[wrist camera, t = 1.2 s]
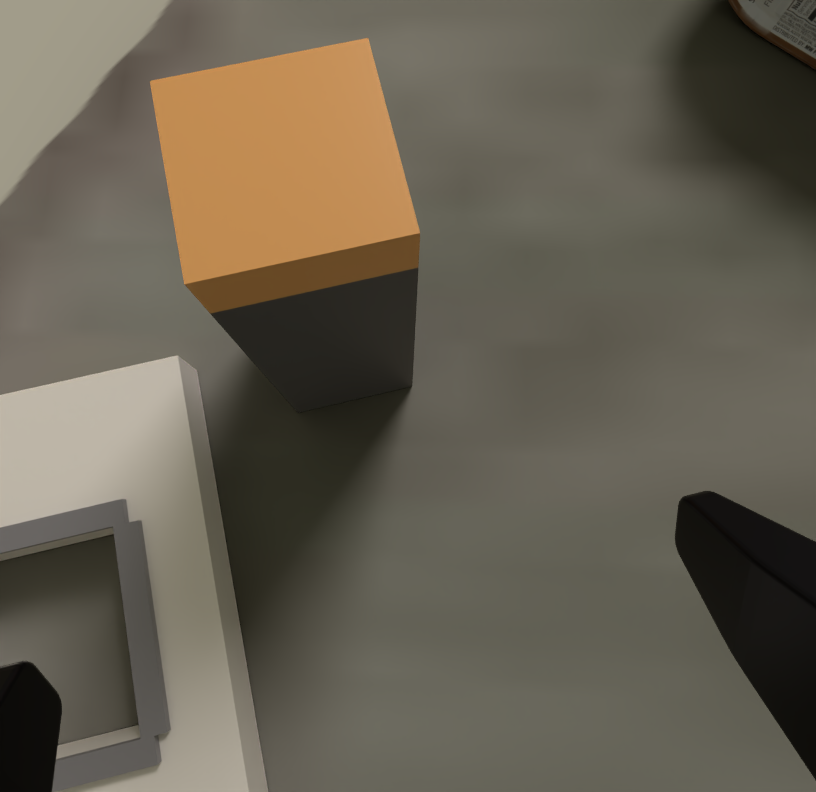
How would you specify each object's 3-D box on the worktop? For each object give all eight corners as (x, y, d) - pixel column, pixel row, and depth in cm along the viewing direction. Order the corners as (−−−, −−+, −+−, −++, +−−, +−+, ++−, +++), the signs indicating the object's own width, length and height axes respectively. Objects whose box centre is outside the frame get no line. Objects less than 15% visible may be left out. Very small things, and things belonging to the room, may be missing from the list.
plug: (411, 386, 23) (419, 232, 11) (298, 412, 23) (184, 284, 11) (385, 280, 24) (368, 38, 12) (275, 305, 24) (149, 80, 12)
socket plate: (281, 870, 19) (265, 914, 17) (-102, 975, 19) (-171, 1036, 16) (197, 370, 23) (174, 353, 21) (-127, 443, 22) (-186, 433, 20)
